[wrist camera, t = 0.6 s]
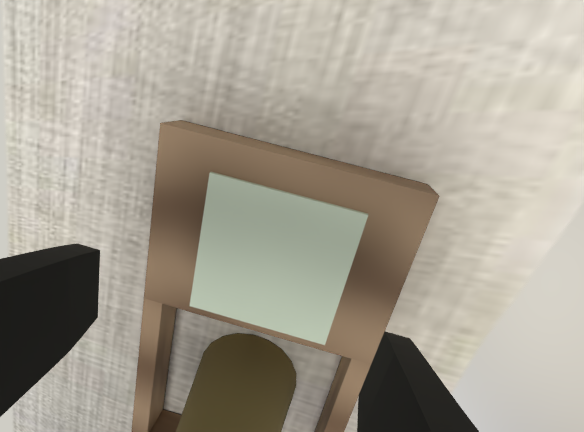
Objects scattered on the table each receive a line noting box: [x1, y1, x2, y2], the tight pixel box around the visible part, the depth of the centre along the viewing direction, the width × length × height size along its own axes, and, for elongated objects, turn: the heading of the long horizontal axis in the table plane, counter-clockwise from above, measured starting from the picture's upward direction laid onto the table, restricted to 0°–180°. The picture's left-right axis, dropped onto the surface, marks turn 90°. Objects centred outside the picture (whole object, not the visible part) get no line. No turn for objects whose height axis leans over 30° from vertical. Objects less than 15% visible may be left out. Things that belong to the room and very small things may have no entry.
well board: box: [132, 120, 439, 432], centre depth 18 cm, size 20×12×2 cm, turn 167°
